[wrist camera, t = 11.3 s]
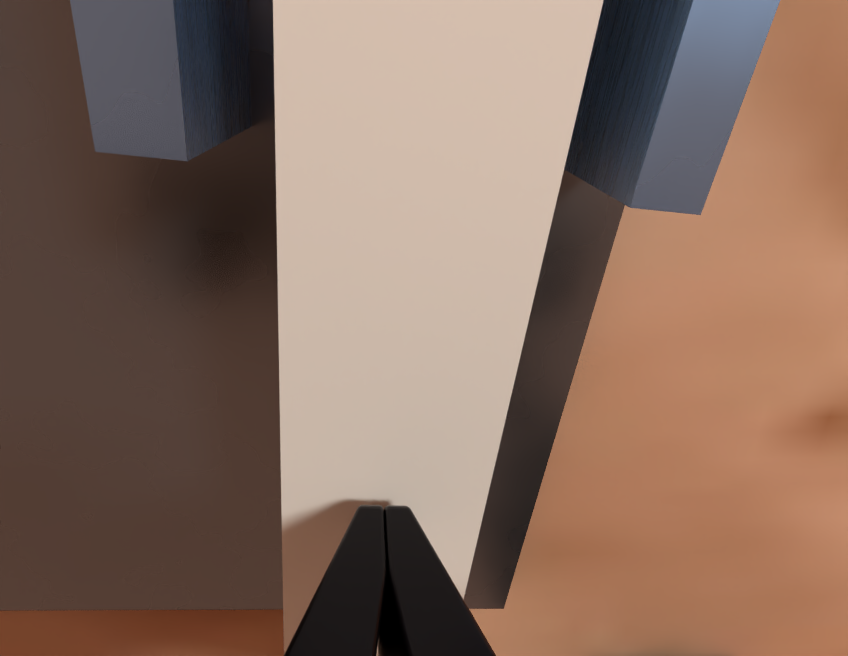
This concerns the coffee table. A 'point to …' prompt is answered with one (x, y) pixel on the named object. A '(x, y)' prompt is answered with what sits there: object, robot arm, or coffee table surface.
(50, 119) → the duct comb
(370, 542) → the robot arm
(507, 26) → the long cream bar
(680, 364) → the coffee table surface
